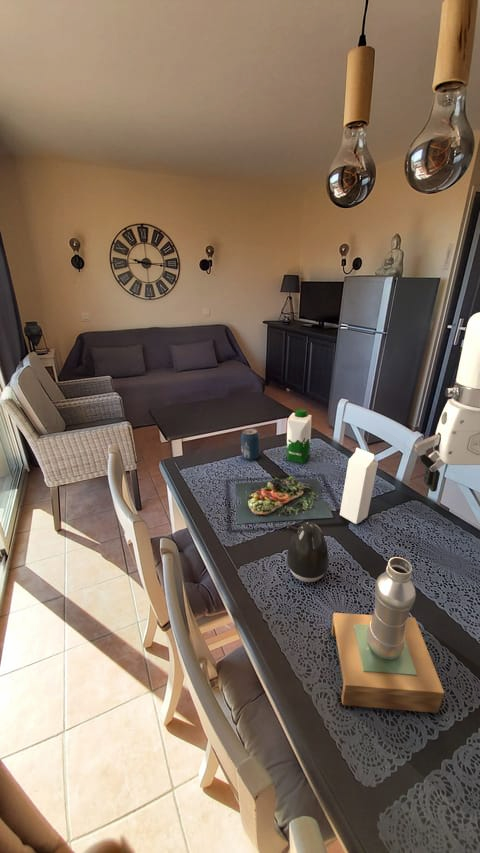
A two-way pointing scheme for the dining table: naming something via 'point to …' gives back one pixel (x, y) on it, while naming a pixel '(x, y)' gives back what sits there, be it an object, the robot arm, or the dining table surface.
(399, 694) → the wooden block
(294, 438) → the milk carton
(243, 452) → the soda can
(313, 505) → the plated dish
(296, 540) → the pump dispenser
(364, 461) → the milk
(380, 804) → the dining table surface
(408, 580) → the silver metal bottle
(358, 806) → the dining table surface
